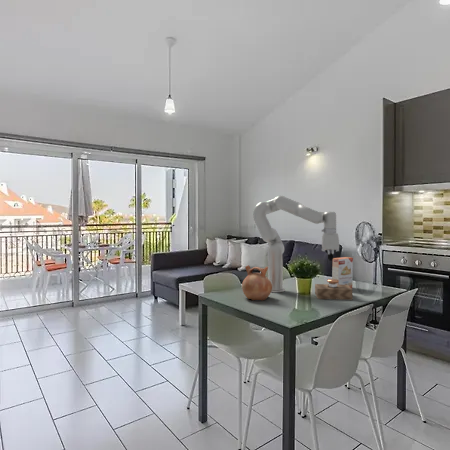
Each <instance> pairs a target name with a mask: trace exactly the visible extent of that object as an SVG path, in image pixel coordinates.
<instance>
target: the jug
mask: <svg viewBox="0 0 450 450" xmlns="http://www.w3.org/2000/svg"><path fill="white" fill-rule="evenodd" d="M244 268H245V270H246V273H247V276H246V277H245V278H244V279H243V281H242V283H241V289H242V292H243V294H244V295H245V297H246V298H248V299H247V300H249V299H252V300H251V301H254V300H261V301H265V300H267V299H268V297H269V296H270V295H271V293H272V292H271V291H272V283H271V281H270V280H269V279H268V276H267V275H266V274H267V273H268V266H265V267H262V268H261V267H259V266H254V267H252V268H251V267H250V265H248V264H247V265H246V266H245V267H244ZM254 270H257V271H259V272H253V271H254Z"/></svg>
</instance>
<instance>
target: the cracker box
mask: <svg viewBox="0 0 450 450" xmlns="http://www.w3.org/2000/svg"><path fill="white" fill-rule="evenodd" d="M331 266H332V267H331V268H332V270H331V271H332V273H331V276H332V277H331V279H337V280H339V283H337V285H348V286H349V287H350V288H351V289H353V274H354V273H353V272H354V271H353V269H354V268H353V267H354V258H353V257H349V256H343V257H333V259H332V265H331Z"/></svg>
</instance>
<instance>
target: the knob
mask: <svg viewBox="0 0 450 450" xmlns="http://www.w3.org/2000/svg"><path fill="white" fill-rule="evenodd" d="M326 282H327V283H328V284H329V288H337V283H339V280H337V279H332V278H328V279H327V280H326Z"/></svg>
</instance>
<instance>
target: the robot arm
mask: <svg viewBox="0 0 450 450" xmlns="http://www.w3.org/2000/svg"><path fill="white" fill-rule="evenodd" d="M278 211H283V212H287V213H288V214H291V215H294V216H295V217H298V218H301V219H304V220H306V221H307V222H310V223H313V224H316V225H318V224H322V223H323V229H321V233H322V236H321V237H322V238H321V251H322V252H325V253H326V254H327V260H328V261H331V262H333V258H334V254H335V253H336V252H340V239H339V234H338V233H337V212H336V211H324V212H322V211H319V210H318V211H317V210H314V209H312V208H311V207H307V206H306V205H303V204H302V203H300V202H298V201H296V200H294V199H291V198H288V197H286V196H283V195H277V196H276V197H274V198H273V199H271V200H267V201H259V202H258V203H257V204H256V205H255V207H254V209H253V211H252V216H253V221H254V223H255V225H256V228H257V229H258V232H259V234H260V237H261V239H262V240H263V241H264V242H266V243H267V245H268V248H267V265H268V270H267V273H268V274H267V278H268V279H269V280H270V281H271V283H272V291H271V293H275V294H276V293H284V292H285V291H286V288H285V287H284V285H283V284H284V283H283V282H284V281H283V280H284V279H283V278H284V274H283V271H284V268H283V267H284V264H283V260H284V259H283V254H284V252H285V246H284V242H283V241H282V238H281V237H280V235H279V233H278V231H277V230H276V229H275V228H273V227H272V226H271V224H270V220H269V219H268V217H267V215H269V214H272V213H274V212H278Z"/></svg>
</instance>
